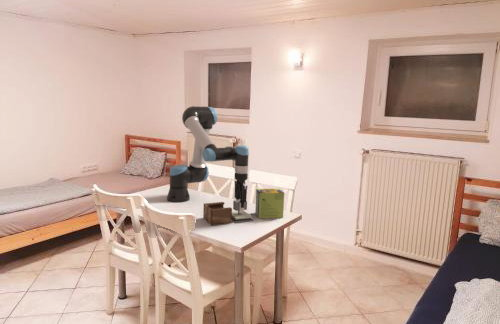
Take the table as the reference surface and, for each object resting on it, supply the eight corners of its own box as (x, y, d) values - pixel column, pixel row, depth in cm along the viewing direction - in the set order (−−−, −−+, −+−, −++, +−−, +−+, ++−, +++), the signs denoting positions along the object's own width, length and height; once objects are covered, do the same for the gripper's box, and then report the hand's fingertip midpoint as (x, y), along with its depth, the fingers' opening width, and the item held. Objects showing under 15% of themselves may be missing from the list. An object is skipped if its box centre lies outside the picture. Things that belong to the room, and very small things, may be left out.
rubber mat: (225, 215, 212) (225, 214, 212) (243, 213, 217) (243, 212, 217) (235, 223, 198) (235, 222, 198) (254, 220, 203) (254, 220, 203)
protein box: (283, 217, 211) (284, 192, 208) (258, 218, 208) (259, 192, 206) (279, 212, 221) (280, 188, 219) (255, 212, 219) (256, 188, 216)
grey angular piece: (228, 213, 210) (228, 199, 209) (243, 212, 215) (244, 197, 213) (235, 219, 200) (236, 204, 199) (251, 217, 204) (252, 202, 203)
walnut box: (203, 217, 205) (203, 203, 204) (222, 215, 210) (223, 201, 209) (211, 225, 193) (211, 210, 191) (231, 223, 198) (232, 208, 196)
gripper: (229, 170, 209) (228, 208, 213) (241, 175, 194) (239, 216, 198) (241, 169, 212) (239, 206, 216) (253, 175, 197) (251, 215, 201)
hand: (239, 211), depth 207 cm, fingers closed on grey angular piece, 4 cm apart
